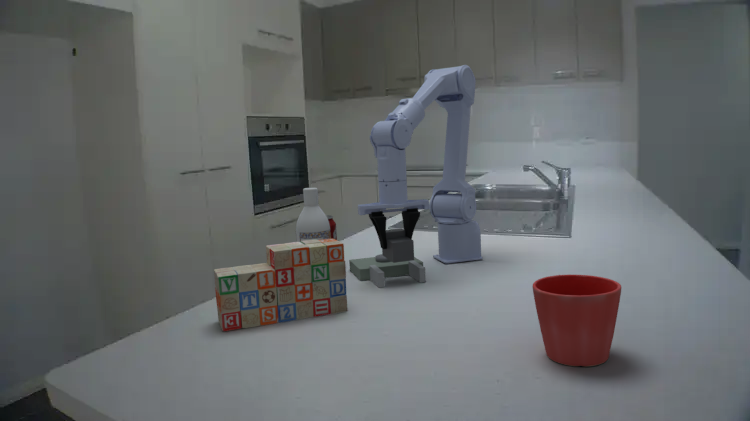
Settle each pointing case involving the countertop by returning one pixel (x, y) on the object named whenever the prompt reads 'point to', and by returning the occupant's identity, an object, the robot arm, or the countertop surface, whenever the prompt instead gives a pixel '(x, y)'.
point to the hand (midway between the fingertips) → (395, 247)
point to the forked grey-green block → (386, 269)
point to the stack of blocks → (283, 285)
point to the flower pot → (577, 317)
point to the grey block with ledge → (398, 246)
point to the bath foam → (312, 219)
